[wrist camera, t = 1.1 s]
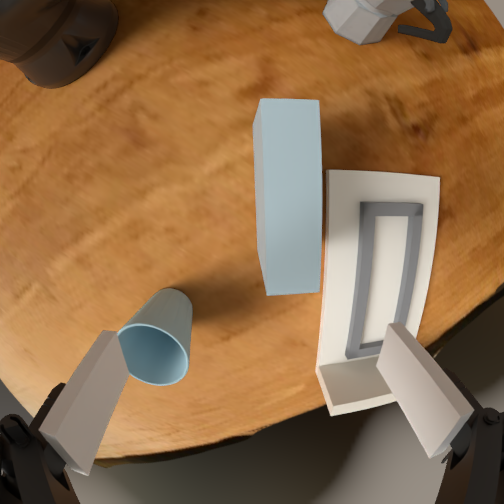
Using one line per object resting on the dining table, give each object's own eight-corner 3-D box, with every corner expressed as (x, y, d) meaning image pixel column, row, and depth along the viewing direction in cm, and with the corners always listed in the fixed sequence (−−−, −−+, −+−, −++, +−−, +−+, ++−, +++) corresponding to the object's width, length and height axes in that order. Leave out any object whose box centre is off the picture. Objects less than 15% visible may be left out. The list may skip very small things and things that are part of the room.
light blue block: (252, 125, 28) (260, 98, 16) (289, 125, 28) (318, 100, 17) (257, 249, 32) (267, 295, 20) (291, 248, 32) (319, 292, 21)
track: (325, 169, 29) (358, 170, 21) (434, 176, 30) (481, 183, 21) (315, 371, 38) (330, 415, 29) (406, 354, 38) (432, 388, 29)
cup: (197, 277, 33) (180, 323, 23) (206, 331, 35) (195, 386, 25) (138, 280, 32) (104, 323, 23) (151, 332, 35) (127, 383, 25)
